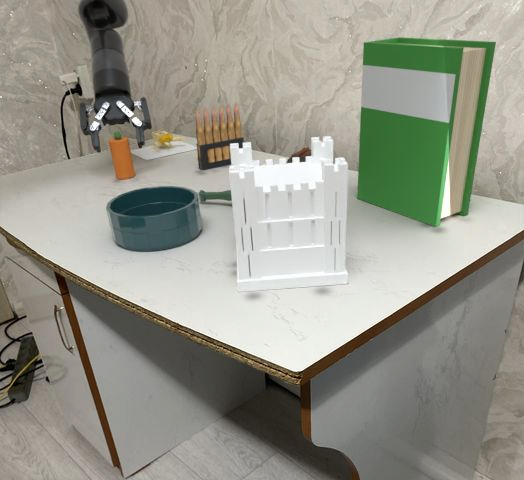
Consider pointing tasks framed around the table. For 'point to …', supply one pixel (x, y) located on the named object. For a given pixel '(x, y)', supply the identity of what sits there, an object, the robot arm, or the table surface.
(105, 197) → the table surface
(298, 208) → the castle model
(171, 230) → the bowl
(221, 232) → the table surface
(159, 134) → the character toy
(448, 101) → the hardback book
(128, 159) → the carrot toy
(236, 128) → the ammunition clip
